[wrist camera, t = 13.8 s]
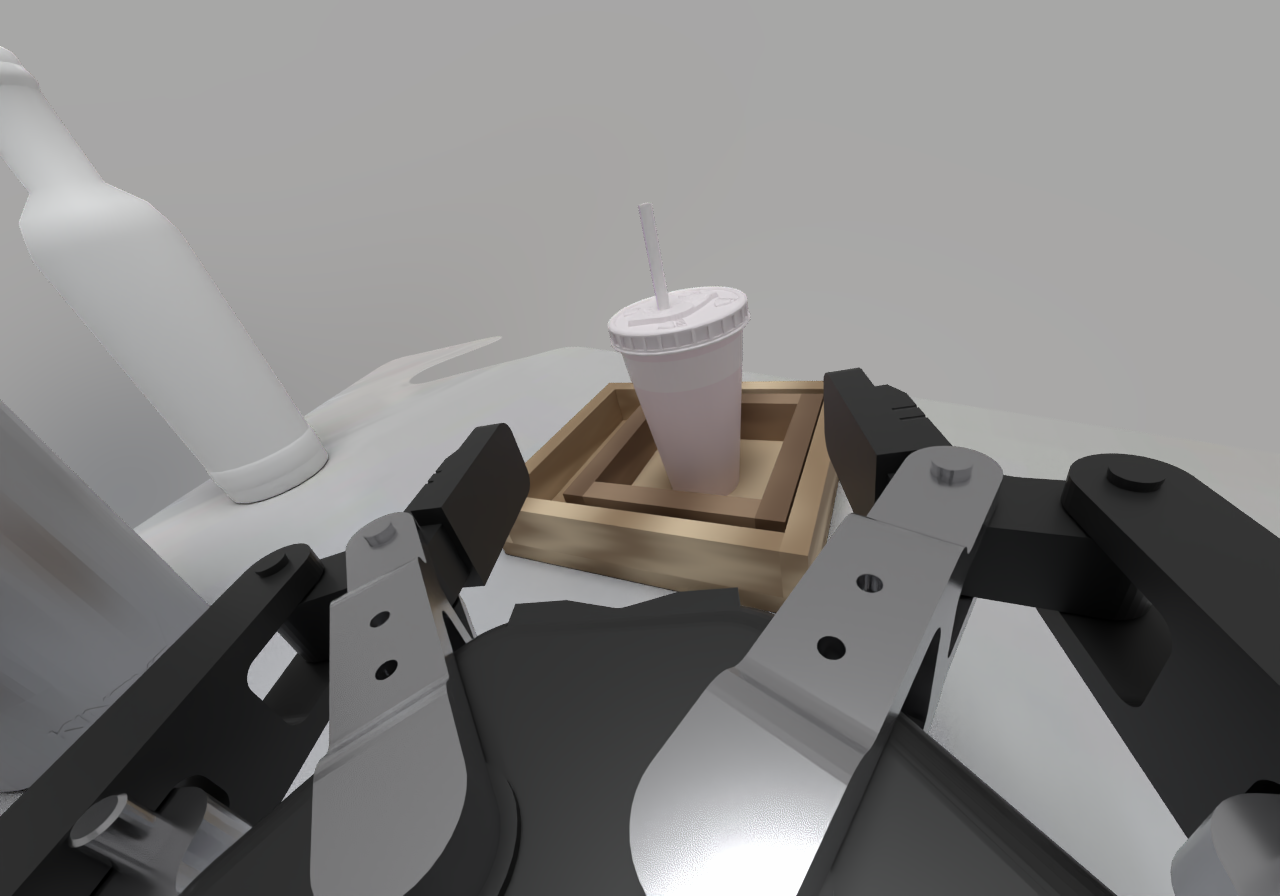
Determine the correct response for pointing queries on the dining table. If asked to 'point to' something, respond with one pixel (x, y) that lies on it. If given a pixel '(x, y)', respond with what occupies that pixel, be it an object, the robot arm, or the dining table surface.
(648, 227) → the smoothie
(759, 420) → the brown wooden tray
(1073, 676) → the dining table surface
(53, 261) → the bottle
